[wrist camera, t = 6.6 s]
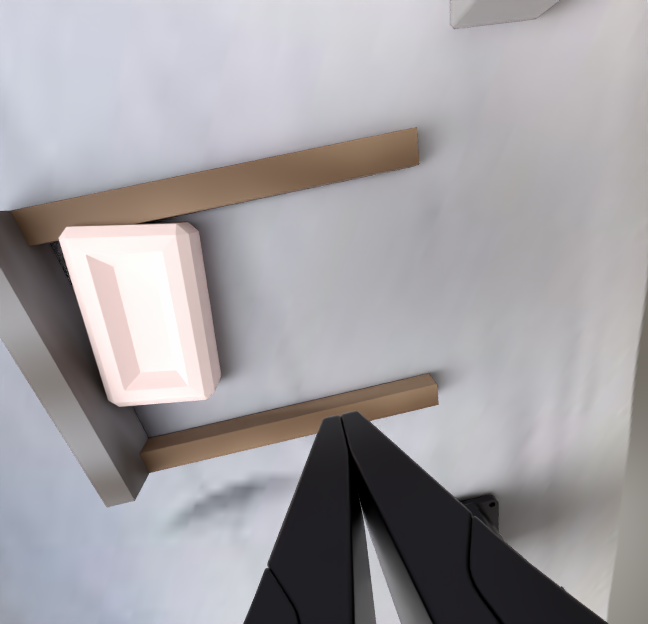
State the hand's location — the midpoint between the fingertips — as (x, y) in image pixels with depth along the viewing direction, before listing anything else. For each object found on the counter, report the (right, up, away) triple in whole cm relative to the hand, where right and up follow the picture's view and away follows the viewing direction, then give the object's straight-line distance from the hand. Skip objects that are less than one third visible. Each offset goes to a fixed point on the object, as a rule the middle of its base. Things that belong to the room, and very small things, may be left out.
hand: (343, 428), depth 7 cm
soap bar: (-9, +3, +10) cm, 14 cm away
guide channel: (-4, +2, +10) cm, 11 cm away
